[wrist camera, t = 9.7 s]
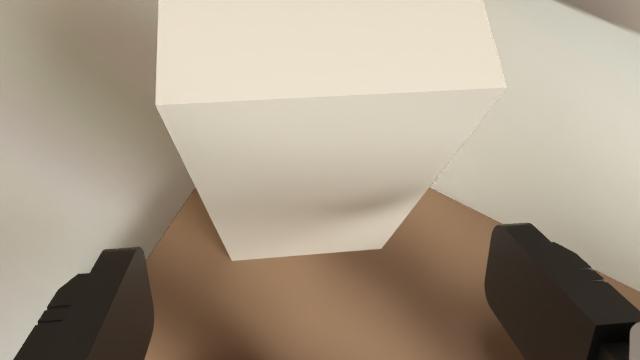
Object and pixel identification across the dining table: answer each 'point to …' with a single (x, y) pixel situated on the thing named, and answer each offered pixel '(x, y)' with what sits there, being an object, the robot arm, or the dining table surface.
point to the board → (332, 294)
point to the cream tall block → (320, 112)
